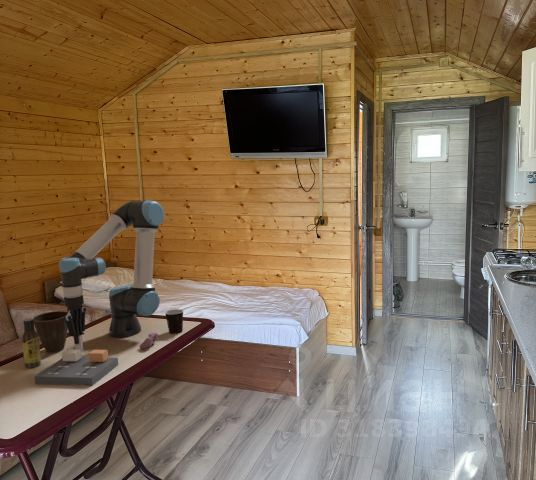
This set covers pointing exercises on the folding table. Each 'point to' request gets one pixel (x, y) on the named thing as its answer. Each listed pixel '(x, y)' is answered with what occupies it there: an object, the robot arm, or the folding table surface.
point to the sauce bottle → (30, 344)
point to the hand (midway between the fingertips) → (79, 350)
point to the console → (76, 372)
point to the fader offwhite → (71, 355)
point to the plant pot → (52, 330)
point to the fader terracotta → (98, 355)
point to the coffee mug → (175, 321)
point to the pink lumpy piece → (149, 340)
